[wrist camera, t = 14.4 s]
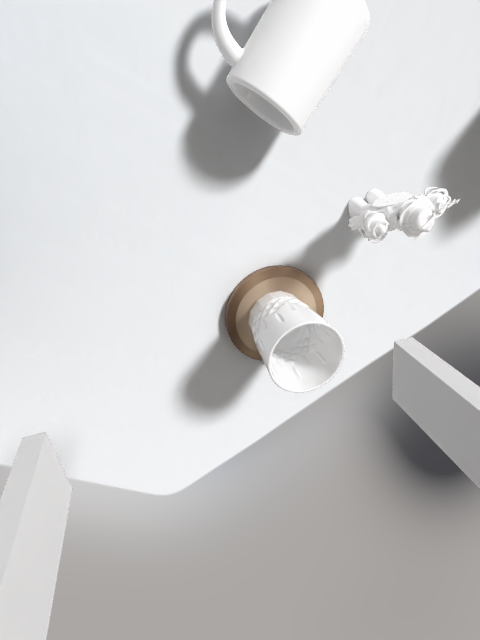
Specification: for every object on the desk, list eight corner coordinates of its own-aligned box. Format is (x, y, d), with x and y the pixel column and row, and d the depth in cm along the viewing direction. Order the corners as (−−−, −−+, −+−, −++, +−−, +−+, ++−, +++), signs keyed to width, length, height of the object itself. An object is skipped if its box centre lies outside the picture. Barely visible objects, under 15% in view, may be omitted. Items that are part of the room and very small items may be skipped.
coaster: (233, 366, 51) (235, 371, 50) (217, 277, 45) (219, 281, 44) (322, 343, 53) (326, 348, 51) (317, 255, 47) (321, 258, 46)
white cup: (312, 331, 50) (351, 374, 41) (254, 355, 49) (280, 404, 41) (298, 275, 46) (336, 309, 37) (234, 300, 46) (258, 341, 37)
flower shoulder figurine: (397, 171, 45) (477, 183, 35) (401, 205, 47) (479, 226, 36) (324, 200, 45) (383, 222, 34) (331, 233, 46) (389, 263, 36)
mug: (342, 42, 39) (388, 22, 32) (282, 136, 41) (313, 137, 34) (242, -61, 34) (271, -112, 27) (180, 53, 36) (191, 33, 29)
